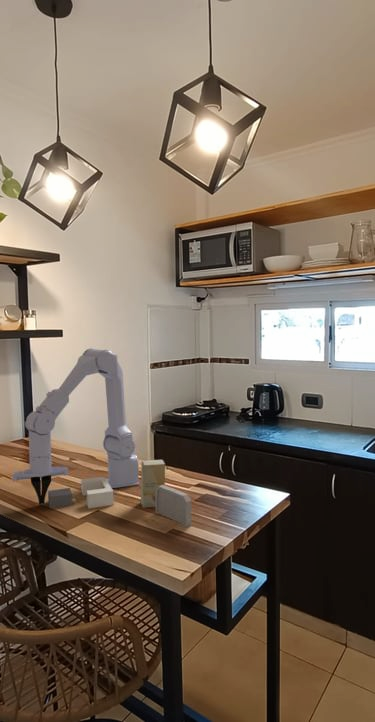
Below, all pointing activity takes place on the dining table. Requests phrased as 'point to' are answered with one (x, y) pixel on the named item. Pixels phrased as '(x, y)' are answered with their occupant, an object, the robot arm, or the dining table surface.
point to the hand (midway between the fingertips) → (41, 502)
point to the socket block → (97, 492)
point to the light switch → (173, 504)
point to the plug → (60, 498)
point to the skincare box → (151, 480)
